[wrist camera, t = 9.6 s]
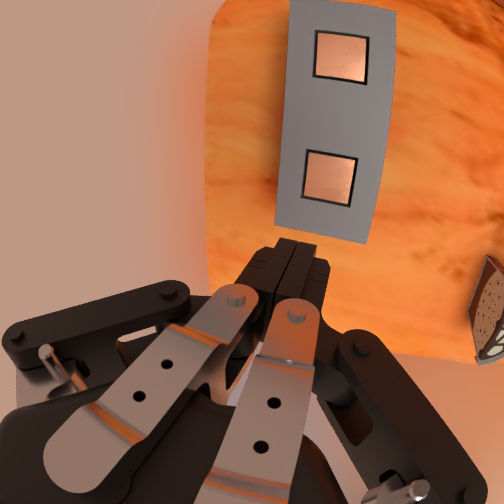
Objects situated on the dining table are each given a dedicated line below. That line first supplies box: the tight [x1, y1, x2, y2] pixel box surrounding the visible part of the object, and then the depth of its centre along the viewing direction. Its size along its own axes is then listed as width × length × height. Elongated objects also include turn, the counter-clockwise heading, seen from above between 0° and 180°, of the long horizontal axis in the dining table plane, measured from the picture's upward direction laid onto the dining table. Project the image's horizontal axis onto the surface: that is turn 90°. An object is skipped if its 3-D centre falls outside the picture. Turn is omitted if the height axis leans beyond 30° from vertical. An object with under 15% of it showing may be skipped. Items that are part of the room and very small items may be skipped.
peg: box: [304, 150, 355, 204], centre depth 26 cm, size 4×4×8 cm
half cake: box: [467, 255, 504, 366], centre depth 24 cm, size 12×6×10 cm, turn 5°
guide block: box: [274, 0, 396, 245], centre depth 24 cm, size 22×9×8 cm, turn 177°
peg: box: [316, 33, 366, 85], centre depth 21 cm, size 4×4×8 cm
